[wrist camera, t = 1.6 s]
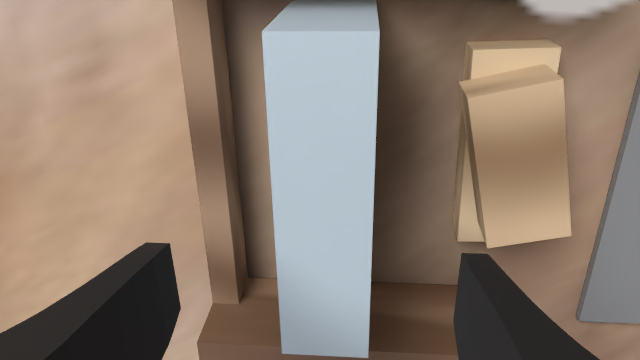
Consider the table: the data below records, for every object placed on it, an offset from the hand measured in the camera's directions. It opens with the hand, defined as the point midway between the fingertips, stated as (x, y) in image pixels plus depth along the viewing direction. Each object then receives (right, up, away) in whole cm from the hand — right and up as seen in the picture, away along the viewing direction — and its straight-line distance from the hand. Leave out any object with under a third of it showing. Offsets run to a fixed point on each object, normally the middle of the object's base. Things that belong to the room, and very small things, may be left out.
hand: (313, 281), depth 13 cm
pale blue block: (+1, +4, +9) cm, 10 cm away
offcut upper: (+7, +4, +7) cm, 11 cm away
